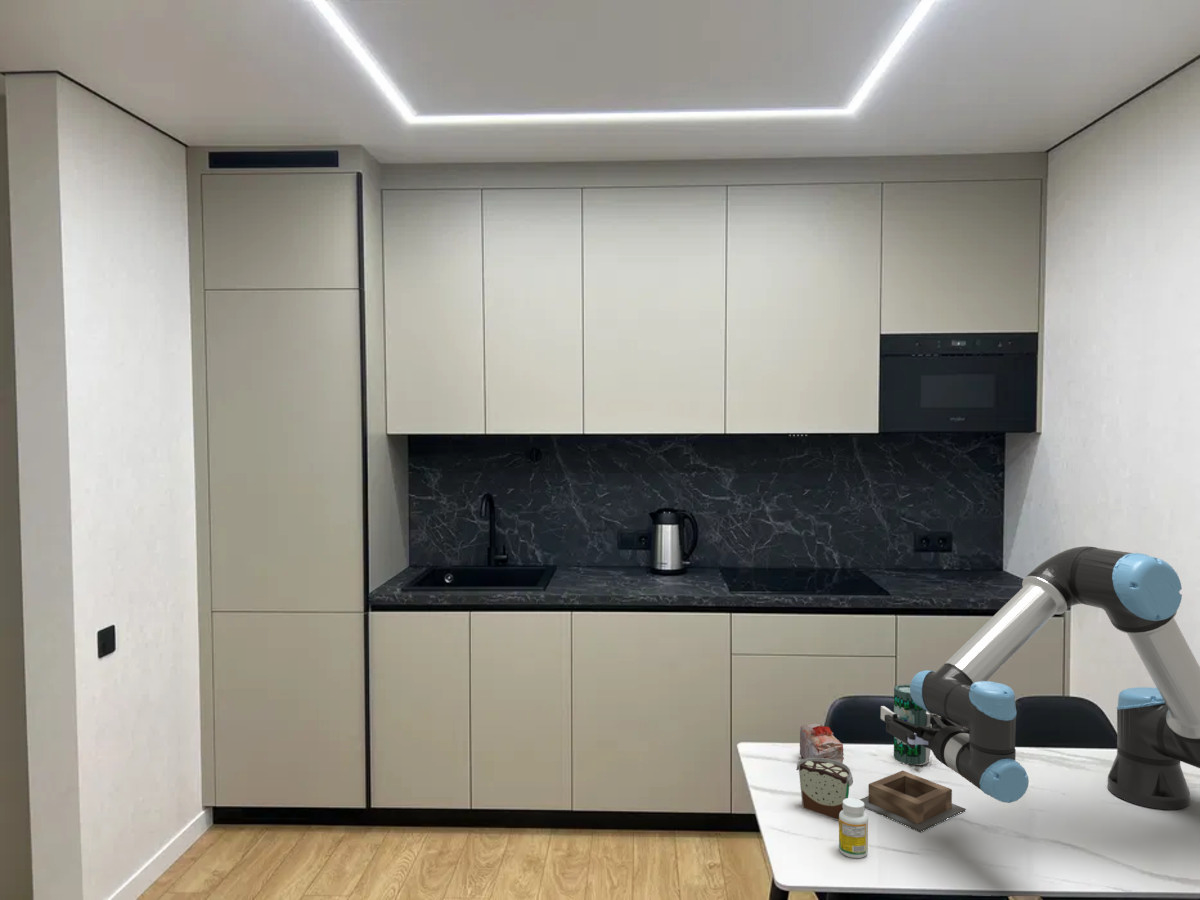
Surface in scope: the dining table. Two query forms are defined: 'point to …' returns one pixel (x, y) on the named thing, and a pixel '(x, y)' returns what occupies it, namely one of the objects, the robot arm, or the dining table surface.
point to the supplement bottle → (853, 829)
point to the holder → (911, 800)
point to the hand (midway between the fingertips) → (897, 711)
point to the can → (912, 715)
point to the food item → (819, 743)
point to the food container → (824, 785)
